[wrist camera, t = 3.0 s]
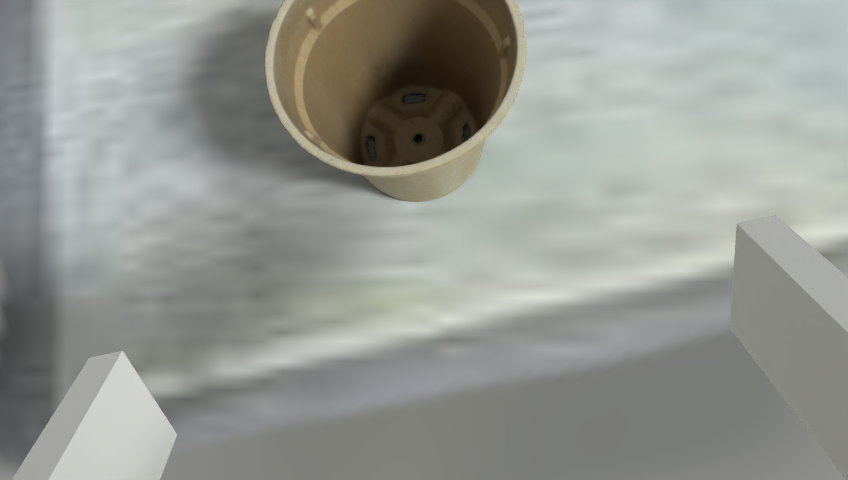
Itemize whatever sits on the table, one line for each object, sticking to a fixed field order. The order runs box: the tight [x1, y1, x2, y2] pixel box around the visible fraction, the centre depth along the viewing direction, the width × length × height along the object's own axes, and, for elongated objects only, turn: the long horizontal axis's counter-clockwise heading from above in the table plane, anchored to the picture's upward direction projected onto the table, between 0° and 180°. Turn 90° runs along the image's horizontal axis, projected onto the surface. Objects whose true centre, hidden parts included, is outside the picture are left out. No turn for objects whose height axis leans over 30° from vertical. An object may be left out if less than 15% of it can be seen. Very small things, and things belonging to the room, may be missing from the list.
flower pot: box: [265, 0, 526, 202], centre depth 25 cm, size 9×9×9 cm
